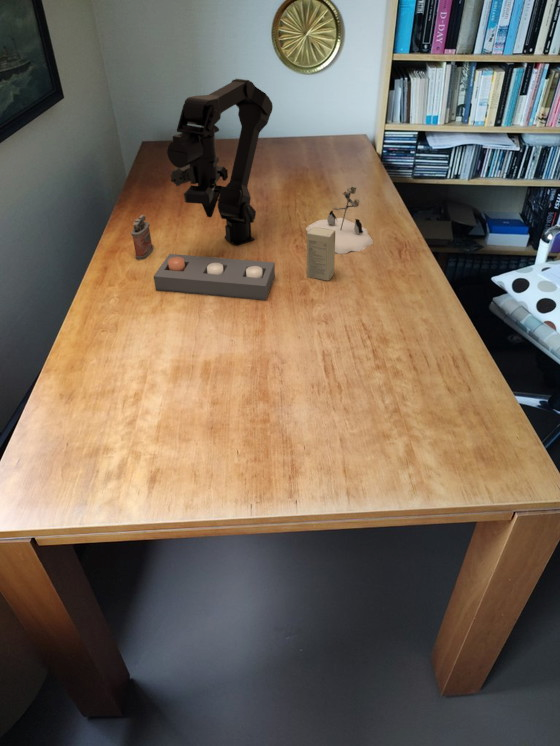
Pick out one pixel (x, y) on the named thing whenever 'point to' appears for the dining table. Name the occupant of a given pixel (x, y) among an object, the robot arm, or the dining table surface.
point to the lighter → (141, 238)
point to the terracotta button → (176, 264)
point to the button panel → (216, 278)
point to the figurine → (346, 229)
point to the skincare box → (320, 253)
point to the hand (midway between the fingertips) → (209, 216)
